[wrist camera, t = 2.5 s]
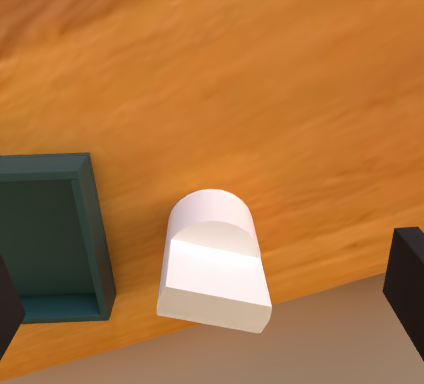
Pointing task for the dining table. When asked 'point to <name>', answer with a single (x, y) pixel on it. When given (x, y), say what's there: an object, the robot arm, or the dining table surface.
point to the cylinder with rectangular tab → (213, 264)
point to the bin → (55, 238)
